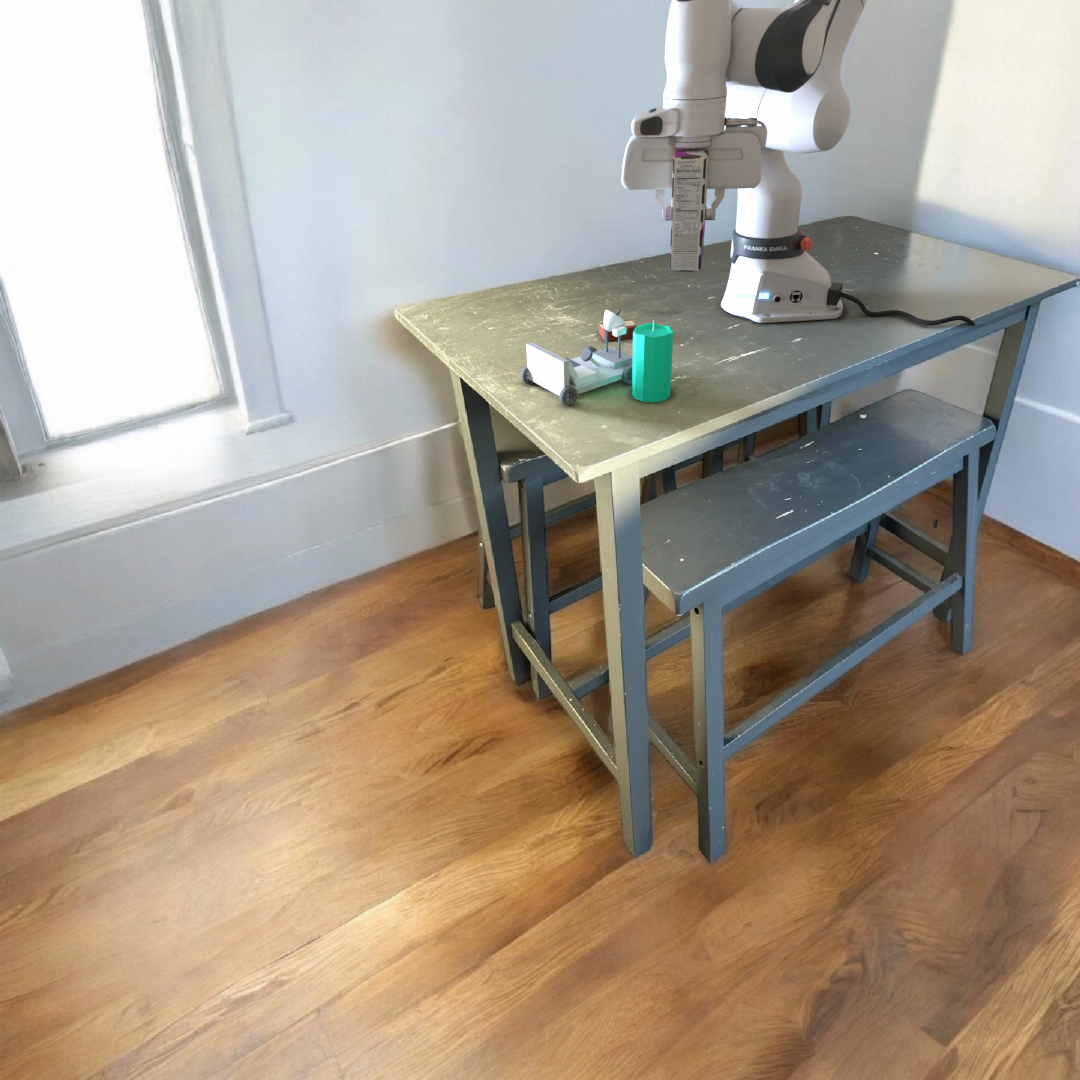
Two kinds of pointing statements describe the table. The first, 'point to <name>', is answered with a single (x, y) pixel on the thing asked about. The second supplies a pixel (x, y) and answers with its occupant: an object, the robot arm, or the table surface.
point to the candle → (652, 362)
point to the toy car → (579, 366)
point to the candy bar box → (688, 210)
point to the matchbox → (629, 334)
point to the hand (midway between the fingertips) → (688, 219)
